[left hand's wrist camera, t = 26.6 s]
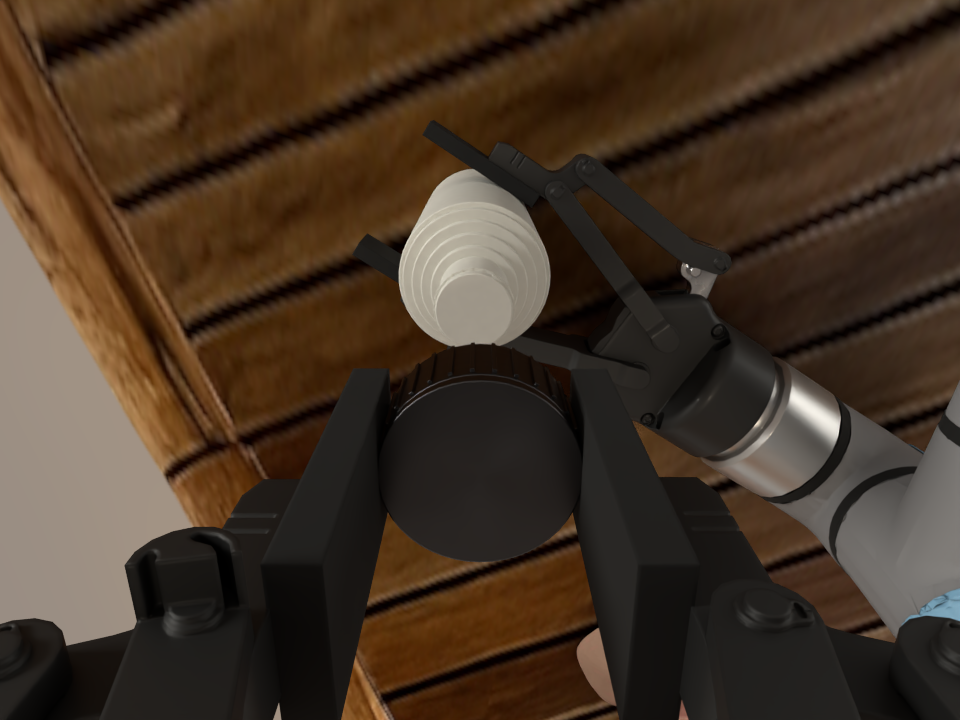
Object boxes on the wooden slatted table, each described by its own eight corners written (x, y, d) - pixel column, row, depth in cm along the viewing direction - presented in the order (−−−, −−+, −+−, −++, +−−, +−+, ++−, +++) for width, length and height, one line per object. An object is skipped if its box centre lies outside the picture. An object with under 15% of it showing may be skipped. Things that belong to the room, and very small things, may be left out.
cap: (589, 353, 14) (606, 391, 12) (555, 517, 16) (566, 575, 14) (395, 328, 14) (382, 363, 12) (379, 497, 15) (365, 553, 13)
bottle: (487, 289, 44) (494, 425, 25) (405, 233, 43) (349, 332, 24) (546, 208, 42) (600, 290, 24) (463, 147, 41) (450, 182, 22)
